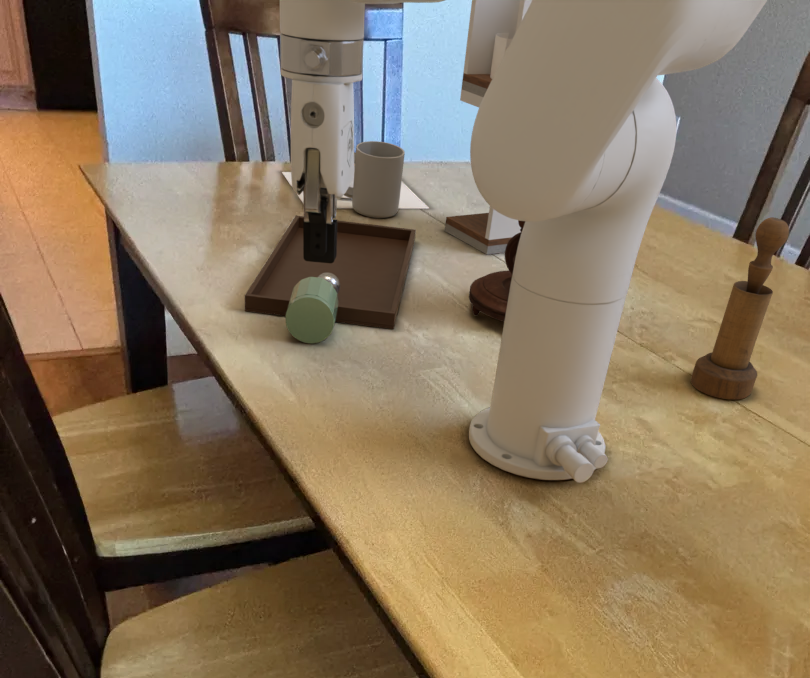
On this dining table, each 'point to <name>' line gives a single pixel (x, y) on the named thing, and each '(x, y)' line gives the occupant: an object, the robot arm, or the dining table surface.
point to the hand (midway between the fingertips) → (320, 259)
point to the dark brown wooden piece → (495, 285)
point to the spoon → (331, 280)
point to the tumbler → (312, 310)
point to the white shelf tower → (486, 46)
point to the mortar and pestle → (741, 323)
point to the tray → (341, 272)
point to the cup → (377, 179)
